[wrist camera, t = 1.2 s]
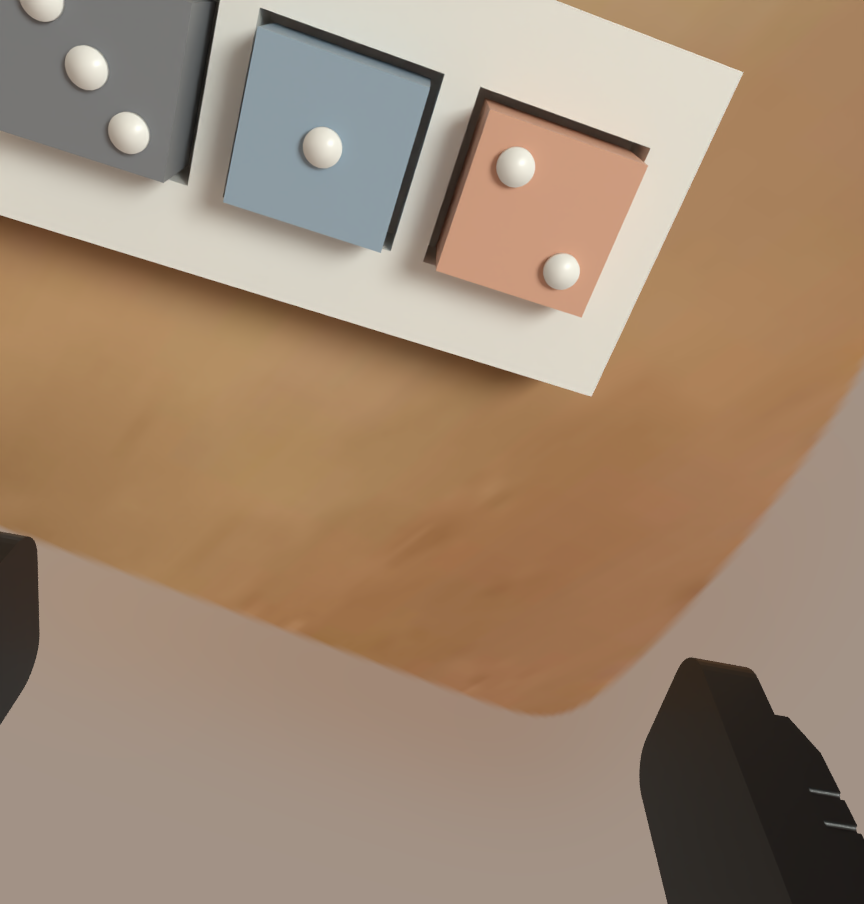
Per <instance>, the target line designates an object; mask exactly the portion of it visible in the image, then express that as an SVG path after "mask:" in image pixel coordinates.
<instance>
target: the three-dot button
mask: <svg viewBox="0 0 864 904" xmlns="http://www.w3.org/2000/svg"><path fill="white" fill-rule="evenodd" d="M215 7H216V1H214V0H0V131H3V132H6V133H9V134H13V135H16V136H19V137H22V138H25V139H28V140H31V141H34V142H37V143H41V144H44V145H47V146H50V147H53V148H56V149H59V150H62V151H65V152H69V153H72V154H75V155H78V156H81V157H84V158H87V159H90V160H93V161H96V162H100V163H103V164H106V165H109V166H112V167H115V168H118V169H121V170H124V171H128V172H131V173H134V174H137V175H140V176H143V177H146V178H149V179H152V180H156V181H159V182H162V183H164V182H165V181H167V180H168V179H170V178H171V177H173V176H174V175H175V174H177V173H178V172H180V171H181V170H182V169H184V168H185V167H187V166H188V164H189V158H190V152H191V146H192V140H193V135H194V129H195V123H196V117H197V111H198V106H199V100H200V94H201V88H202V82H203V77H204V71H205V65H206V59H207V54H208V48H209V42H210V36H211V30H212V25H213V19H214V13H215Z"/></svg>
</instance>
